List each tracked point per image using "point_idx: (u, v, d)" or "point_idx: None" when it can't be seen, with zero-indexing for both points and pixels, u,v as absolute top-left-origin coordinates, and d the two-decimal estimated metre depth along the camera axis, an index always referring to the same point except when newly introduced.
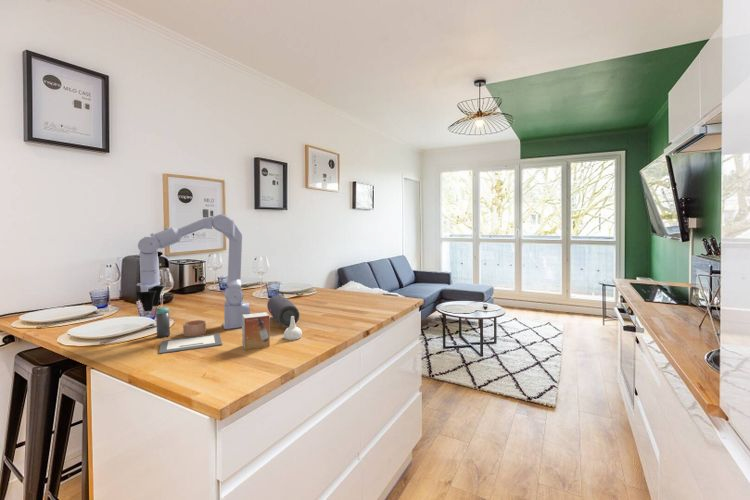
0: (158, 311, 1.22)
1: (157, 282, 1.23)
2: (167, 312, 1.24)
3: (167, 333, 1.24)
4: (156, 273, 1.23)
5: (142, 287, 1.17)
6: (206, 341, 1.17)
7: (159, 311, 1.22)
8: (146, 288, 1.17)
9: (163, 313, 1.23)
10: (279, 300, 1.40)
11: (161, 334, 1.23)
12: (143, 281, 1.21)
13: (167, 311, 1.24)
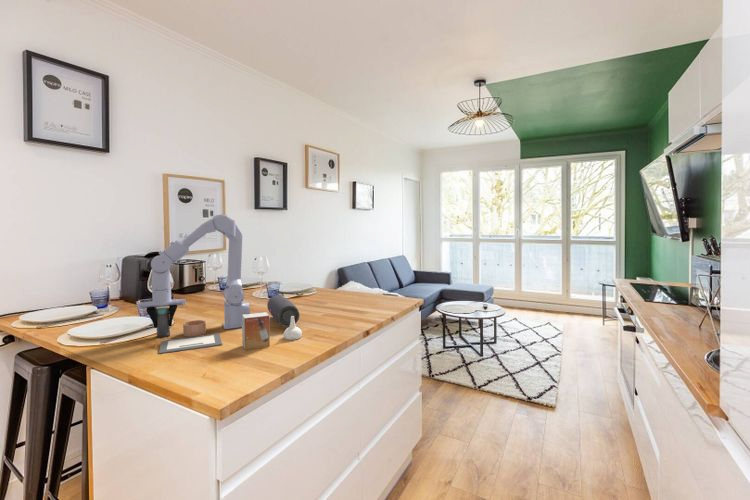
0: (158, 311, 1.22)
1: (157, 302, 1.21)
2: (167, 312, 1.24)
3: (167, 333, 1.24)
4: (156, 293, 1.21)
5: (137, 304, 1.21)
6: (206, 341, 1.17)
7: (159, 311, 1.22)
8: None
9: (163, 313, 1.23)
10: (279, 300, 1.40)
11: (161, 334, 1.23)
12: None
13: (167, 311, 1.24)
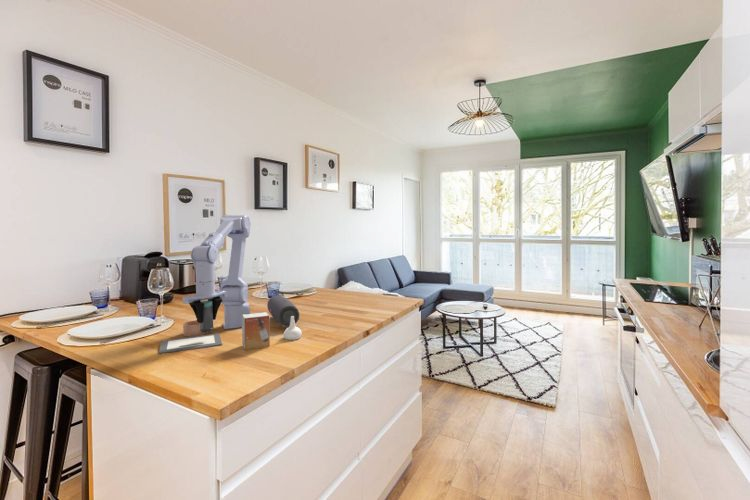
0: (205, 304, 1.15)
1: (206, 294, 1.15)
2: (212, 305, 1.18)
3: None
4: (205, 285, 1.14)
5: (183, 298, 1.11)
6: (206, 341, 1.17)
7: (206, 304, 1.16)
8: (185, 300, 1.11)
9: (210, 306, 1.17)
10: (279, 300, 1.40)
11: (208, 329, 1.16)
12: (196, 291, 1.16)
13: (212, 304, 1.18)
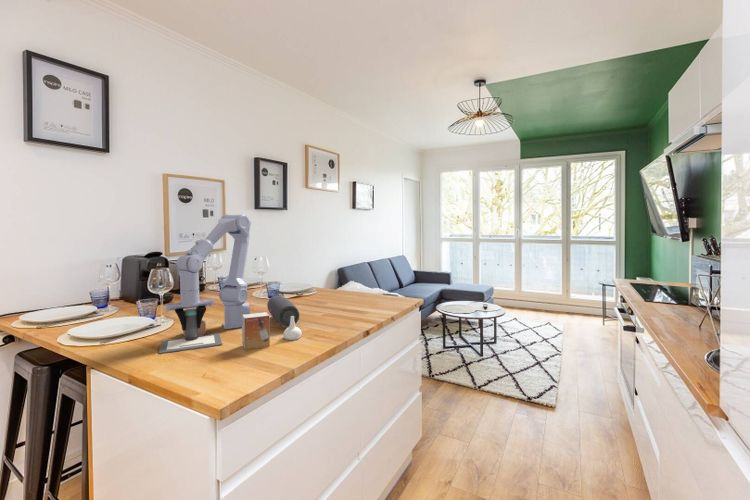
0: (187, 313, 1.18)
1: (187, 303, 1.16)
2: (196, 313, 1.20)
3: (196, 335, 1.20)
4: (186, 294, 1.16)
5: None
6: (206, 341, 1.17)
7: (189, 312, 1.18)
8: (166, 308, 1.15)
9: (193, 314, 1.18)
10: (279, 300, 1.40)
11: (190, 337, 1.18)
12: None
13: (196, 312, 1.20)
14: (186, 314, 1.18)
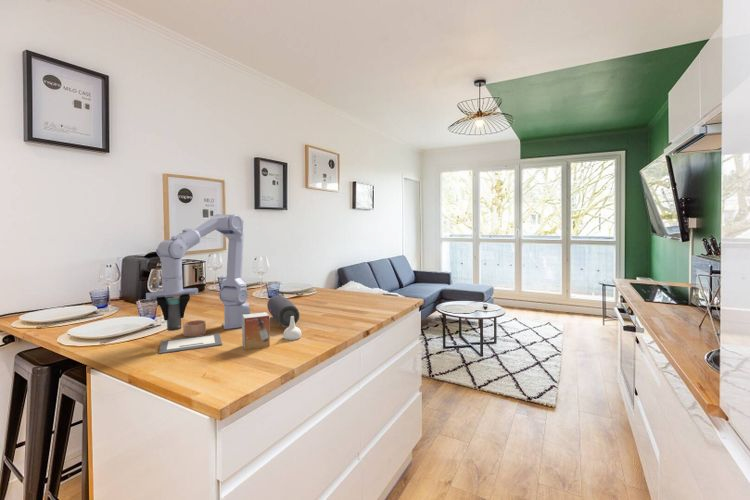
0: (170, 301, 1.11)
1: (169, 291, 1.10)
2: (179, 302, 1.13)
3: (179, 325, 1.13)
4: (168, 281, 1.10)
5: (146, 294, 1.09)
6: (206, 341, 1.17)
7: (171, 301, 1.11)
8: (146, 296, 1.08)
9: (175, 303, 1.12)
10: (279, 300, 1.40)
11: (173, 327, 1.12)
12: None
13: (179, 301, 1.13)
14: (168, 303, 1.11)
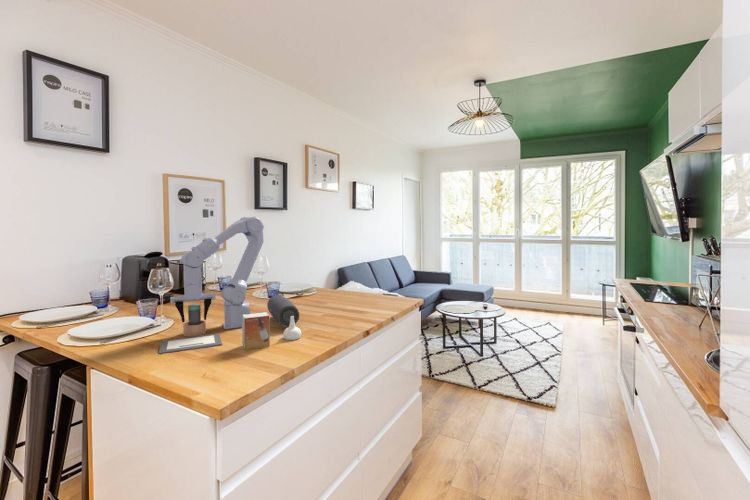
0: (191, 308, 1.25)
1: (189, 296, 1.24)
2: (199, 309, 1.27)
3: None
4: (188, 287, 1.24)
5: (170, 298, 1.24)
6: (206, 341, 1.17)
7: (192, 308, 1.25)
8: (170, 300, 1.23)
9: (195, 310, 1.26)
10: (279, 300, 1.40)
11: None
12: None
13: (199, 308, 1.27)
14: (189, 309, 1.25)
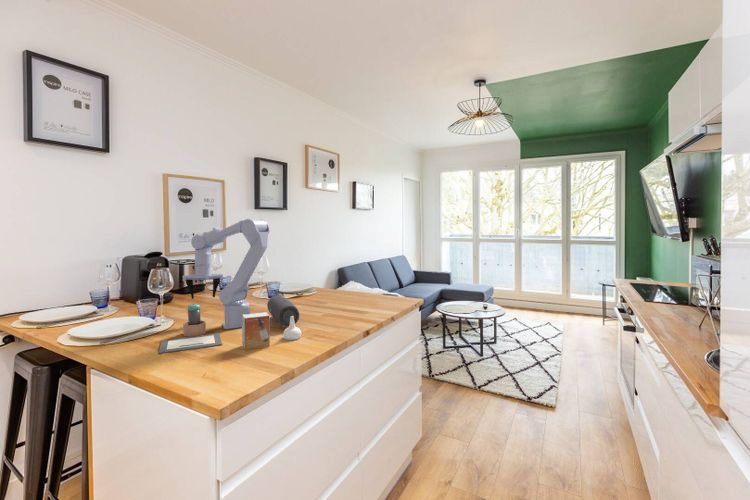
0: (190, 308, 1.25)
1: (199, 275, 1.38)
2: (198, 309, 1.27)
3: None
4: (199, 267, 1.37)
5: None
6: (206, 341, 1.17)
7: (191, 308, 1.25)
8: None
9: (195, 310, 1.26)
10: (279, 300, 1.40)
11: None
12: None
13: (198, 308, 1.27)
14: (189, 309, 1.25)
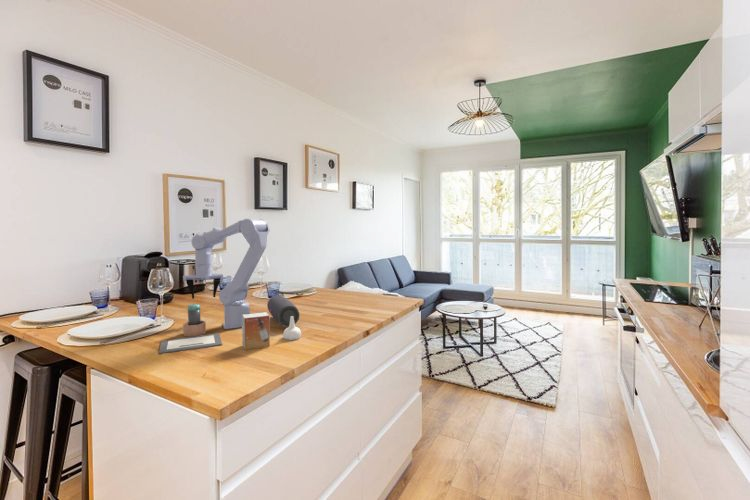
0: (190, 308, 1.25)
1: (200, 275, 1.38)
2: (198, 309, 1.27)
3: None
4: (199, 267, 1.38)
5: (183, 276, 1.38)
6: (206, 341, 1.17)
7: (191, 308, 1.25)
8: (183, 278, 1.37)
9: (195, 310, 1.26)
10: (279, 300, 1.40)
11: None
12: None
13: (198, 308, 1.27)
14: (189, 309, 1.25)
